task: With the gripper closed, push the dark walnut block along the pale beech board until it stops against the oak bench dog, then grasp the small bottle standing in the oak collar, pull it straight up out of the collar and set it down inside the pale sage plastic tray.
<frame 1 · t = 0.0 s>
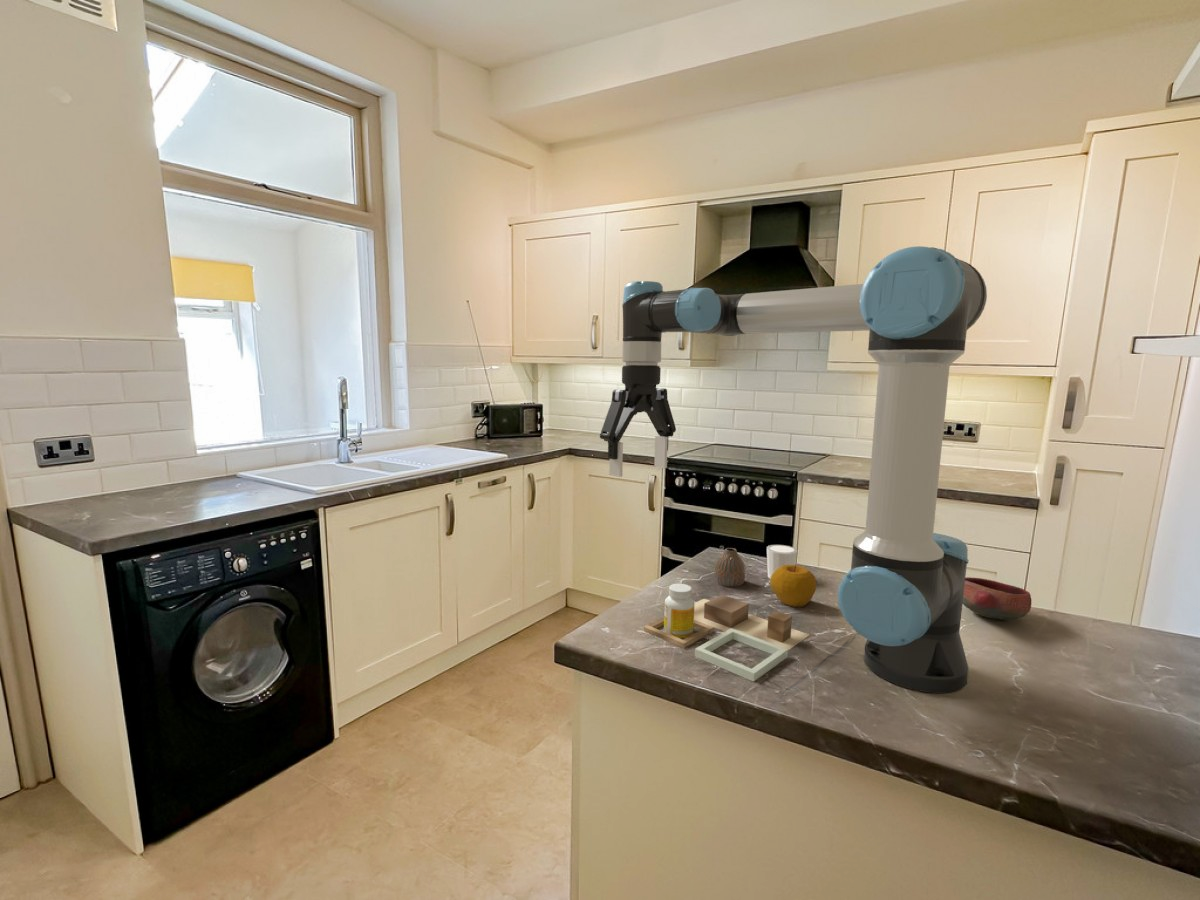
hand: (639, 471, 118), 28 cm above the counter, fingers open, 13 cm apart
tray: (740, 663, 98), on the counter
oak collar: (678, 637, 108), on the counter
apple: (791, 607, 122), on the counter
supplement bottle: (678, 638, 108), resting in oak collar
white cylinder: (779, 578, 139), on the counter
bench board: (739, 629, 111), on the counter
vase: (729, 587, 132), on the counter
bowl: (993, 621, 116), on the counter
walnut block: (725, 618, 113), point 1 cm above the counter, touching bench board
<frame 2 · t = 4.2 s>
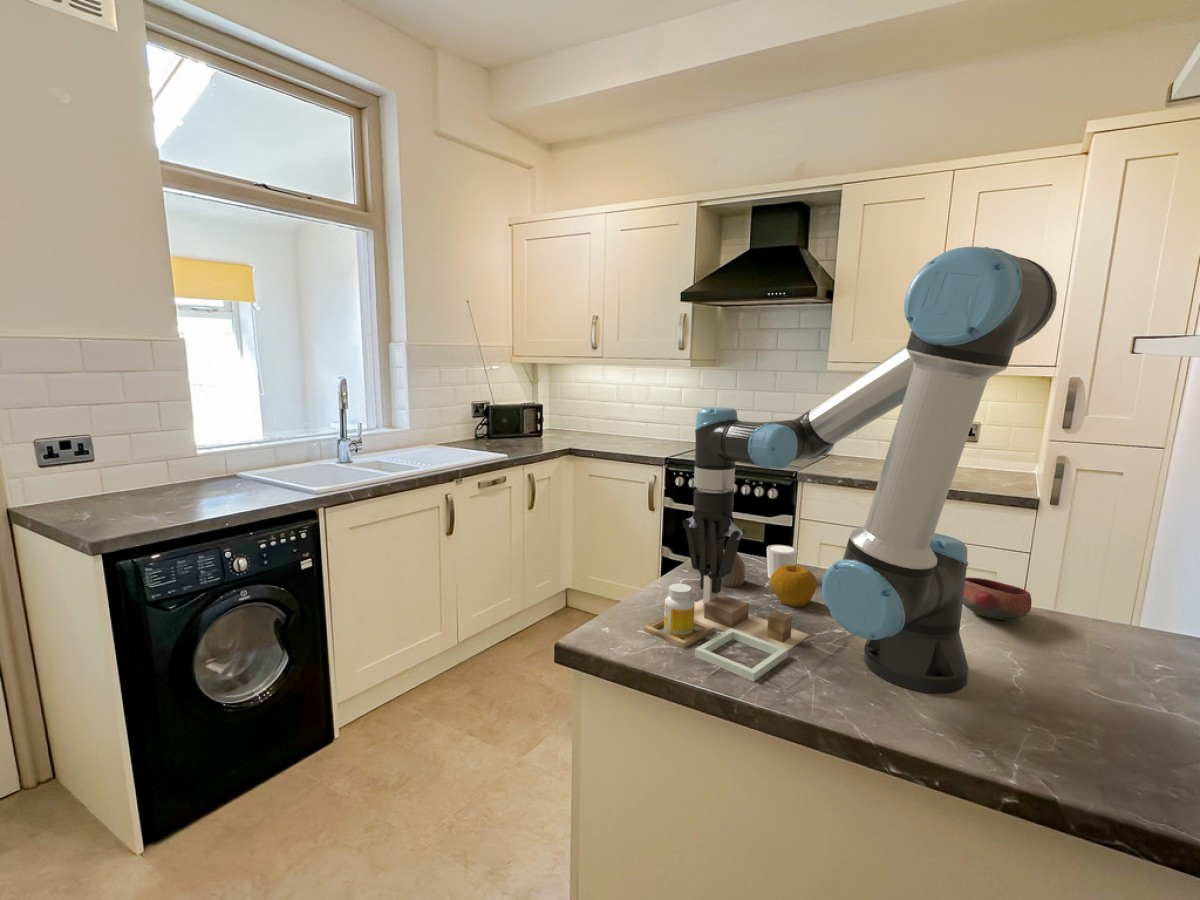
hand: (709, 606, 115), 2 cm above the counter, fingers closed
walnut block: (726, 618, 113), point 1 cm above the counter, touching gripper
everything else where it was.
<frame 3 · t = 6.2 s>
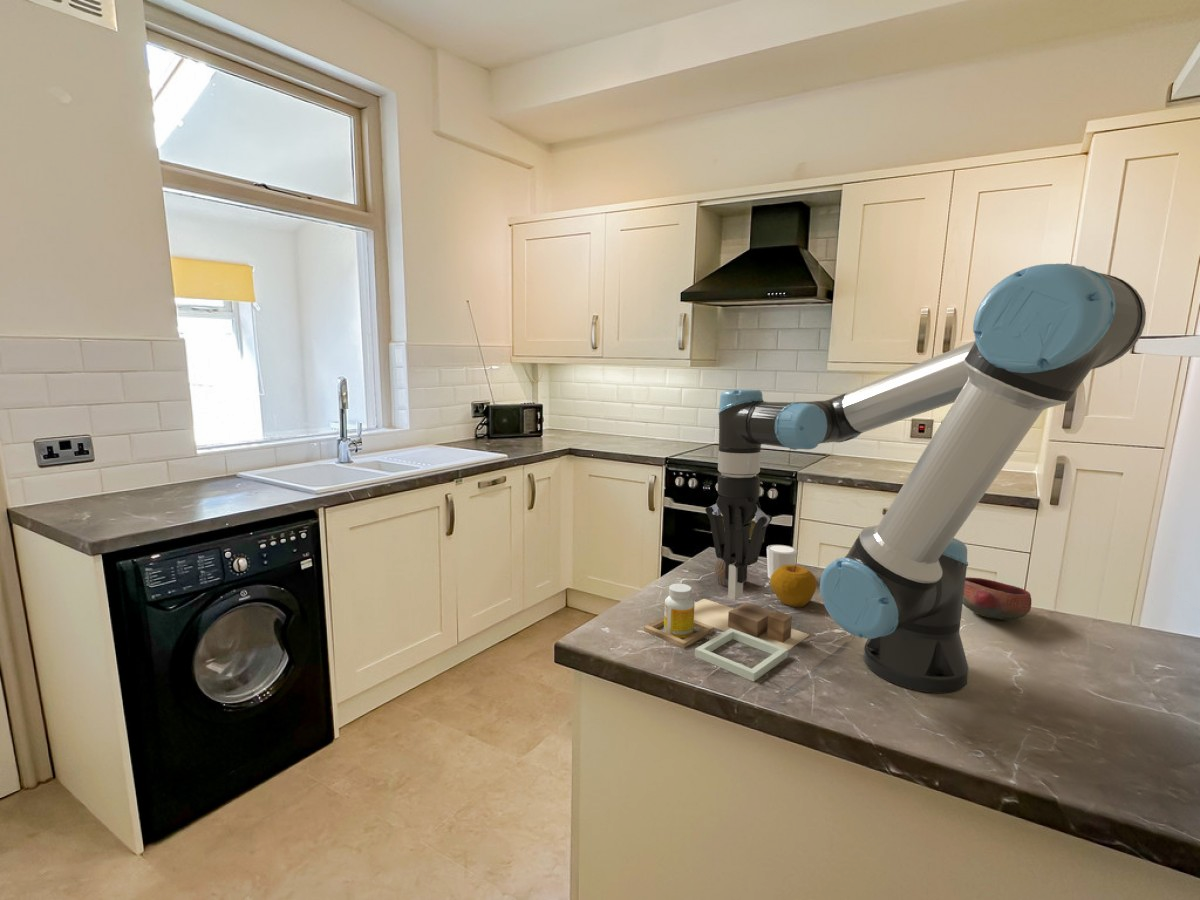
hand: (735, 597, 111), 6 cm above the counter, fingers closed
walnut block: (750, 627, 109), point 1 cm above the counter, touching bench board
everything else where it was.
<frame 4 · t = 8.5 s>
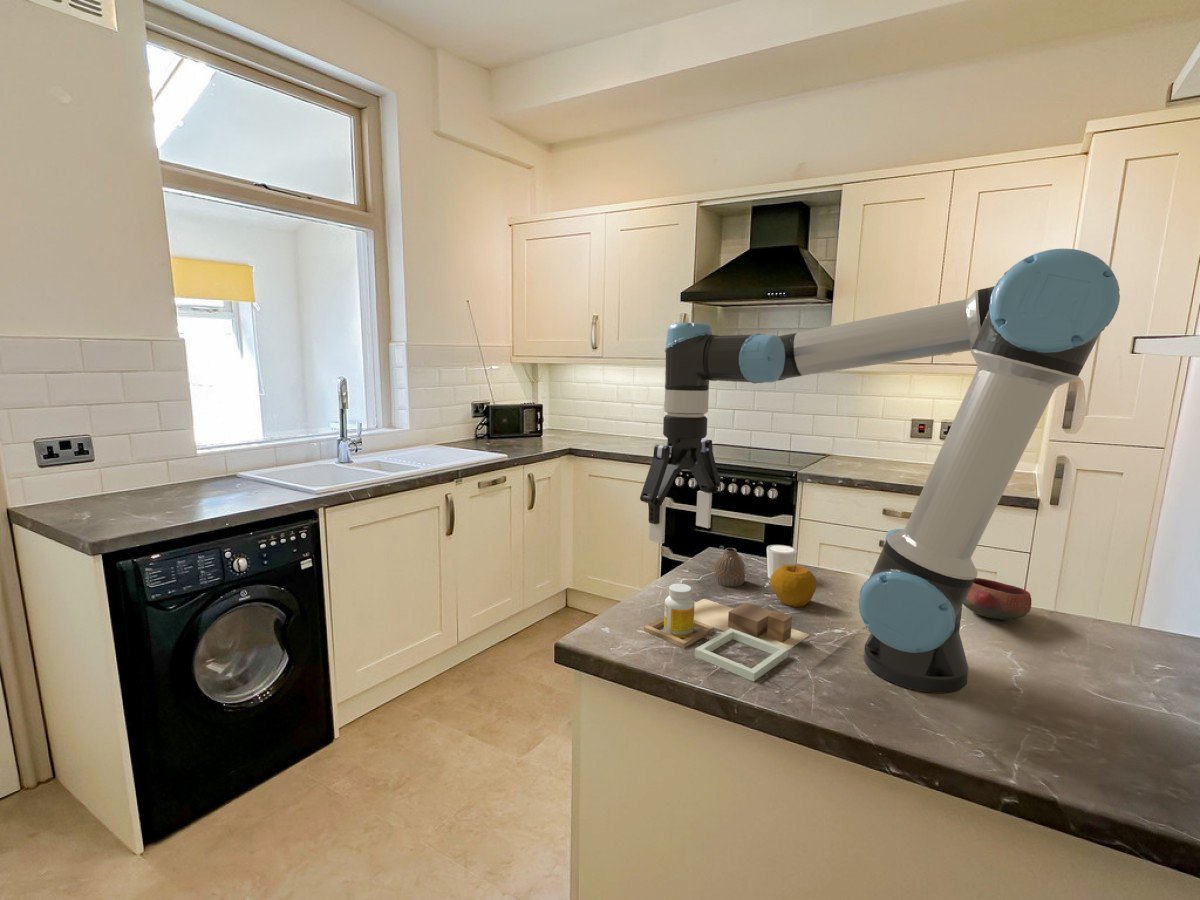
hand: (680, 533, 105), 20 cm above the counter, fingers open, 13 cm apart
nothing on the counter moved.
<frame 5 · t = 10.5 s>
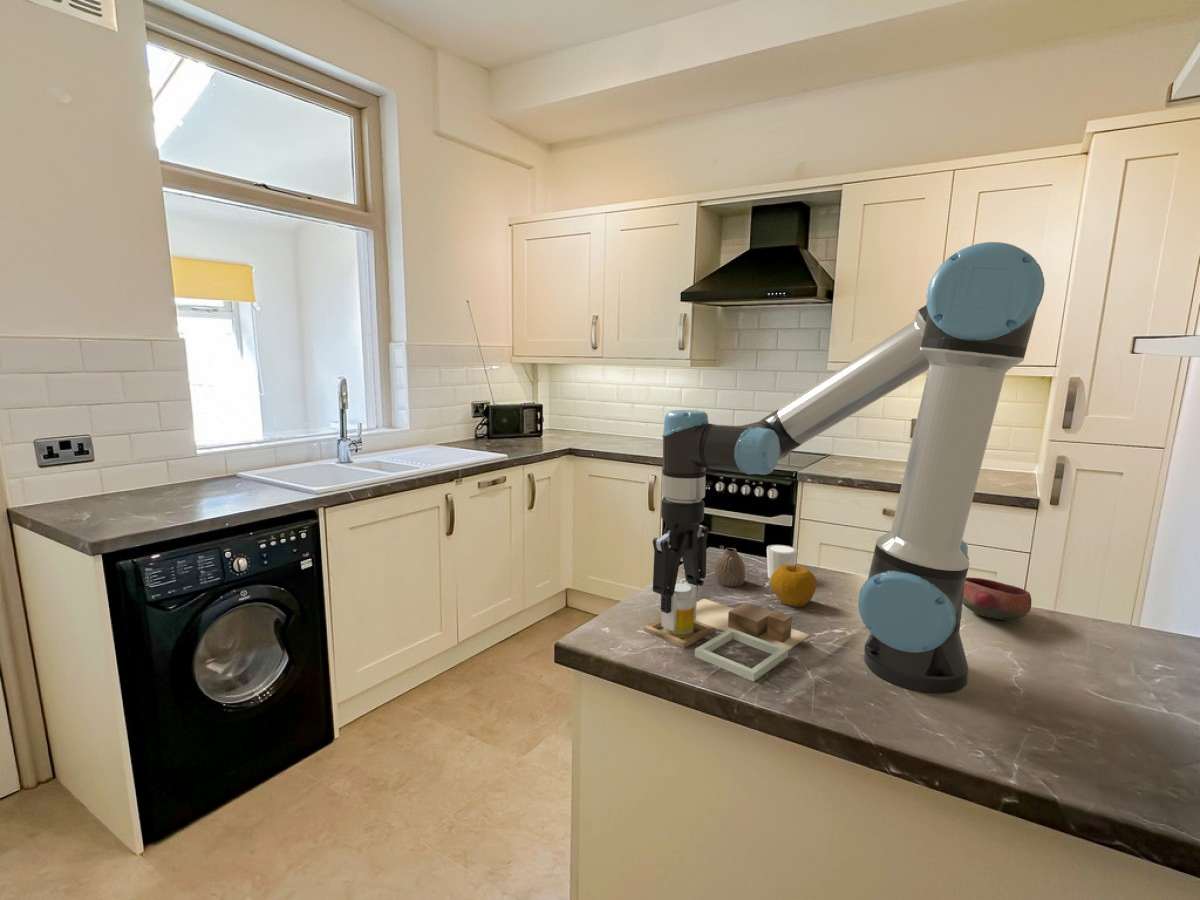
hand: (678, 622, 107), 3 cm above the counter, fingers closed on supplement bottle, 5 cm apart
supplement bottle: (678, 638, 108), resting in oak collar, touching gripper
everything else where it was.
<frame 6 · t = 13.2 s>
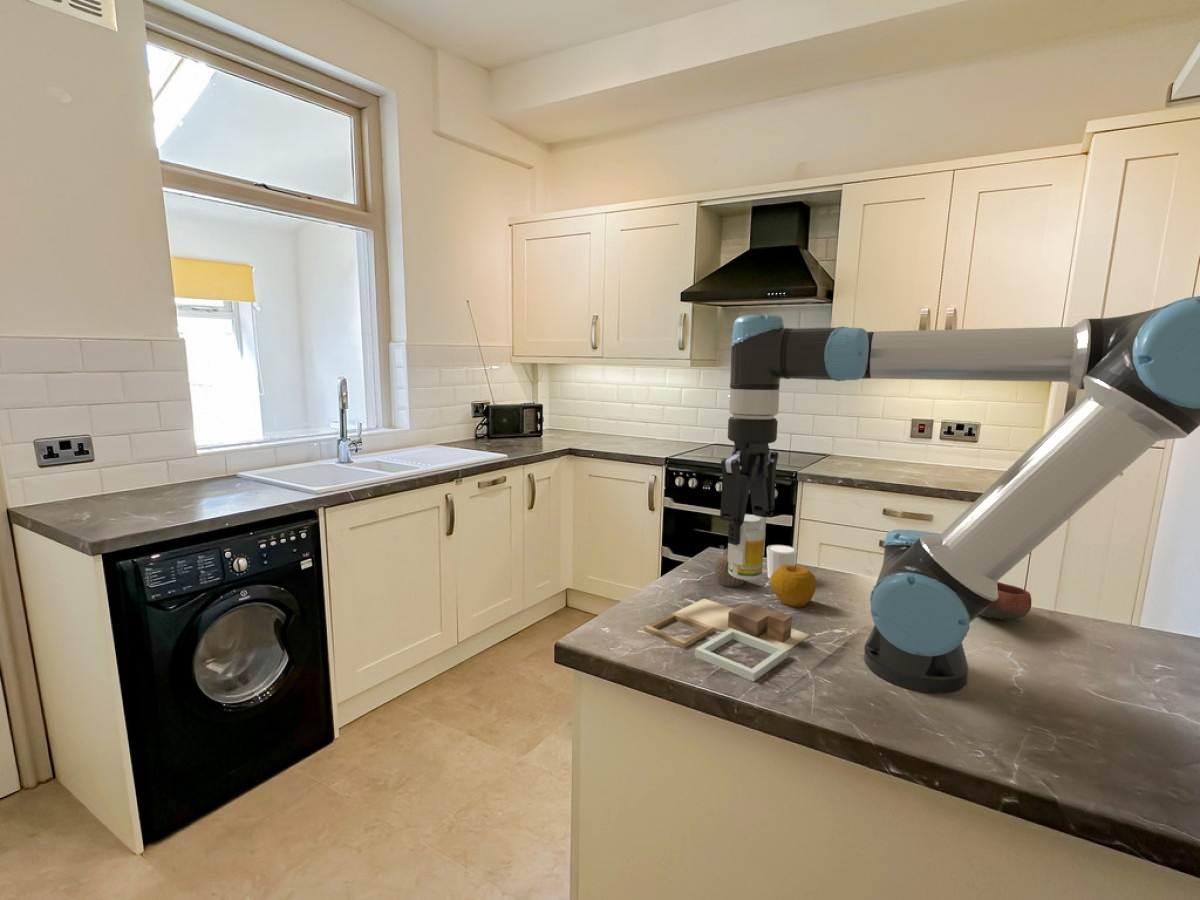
hand: (746, 558, 96), 18 cm above the counter, fingers closed on supplement bottle, 5 cm apart
supplement bottle: (744, 576, 96), point 15 cm above the counter, touching gripper
everything else where it was.
when the fingers open (5 cm above the counter, at t = 15.7 s): supplement bottle drops 2 cm, resting on tray.
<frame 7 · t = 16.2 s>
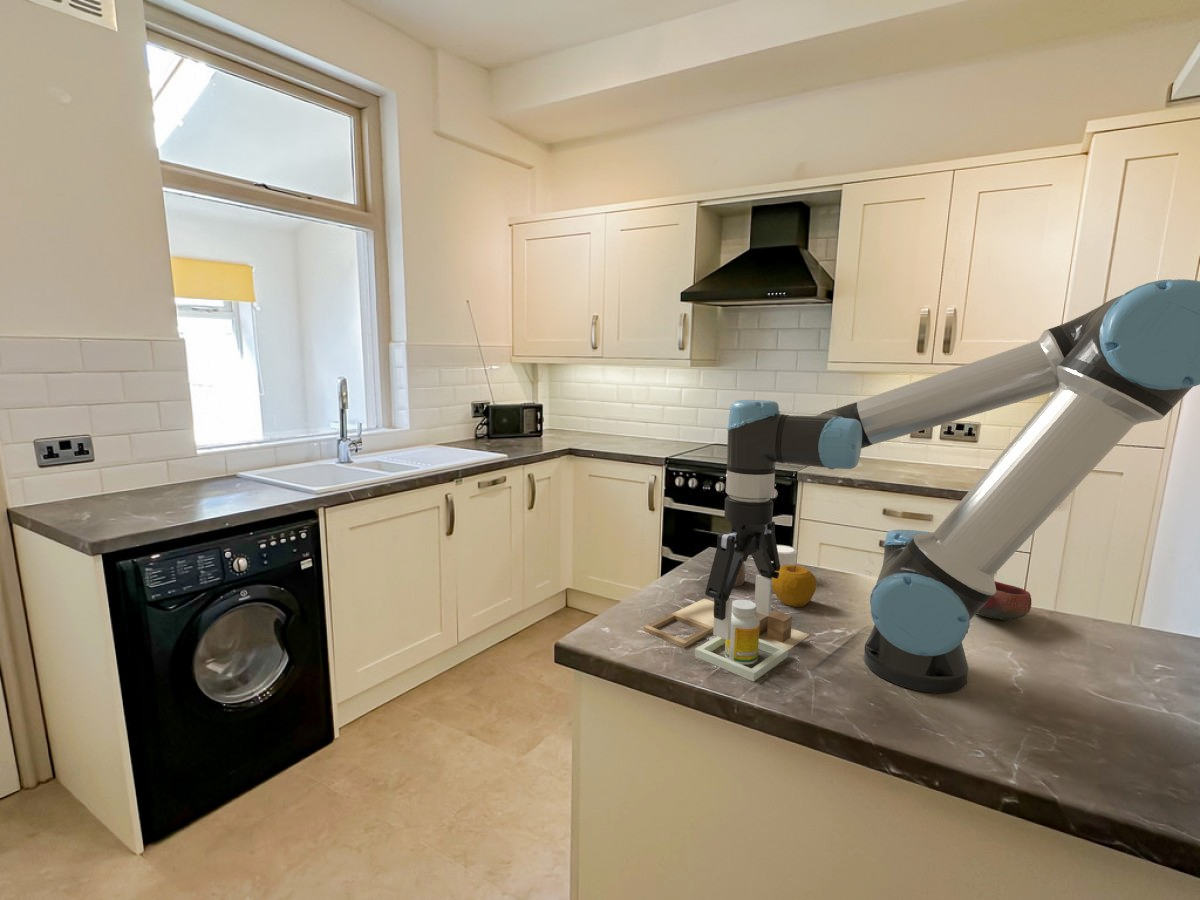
hand: (742, 624, 97), 7 cm above the counter, fingers open, 12 cm apart
supplement bottle: (741, 659, 98), point 1 cm above the counter, touching tray
everything else where it was.
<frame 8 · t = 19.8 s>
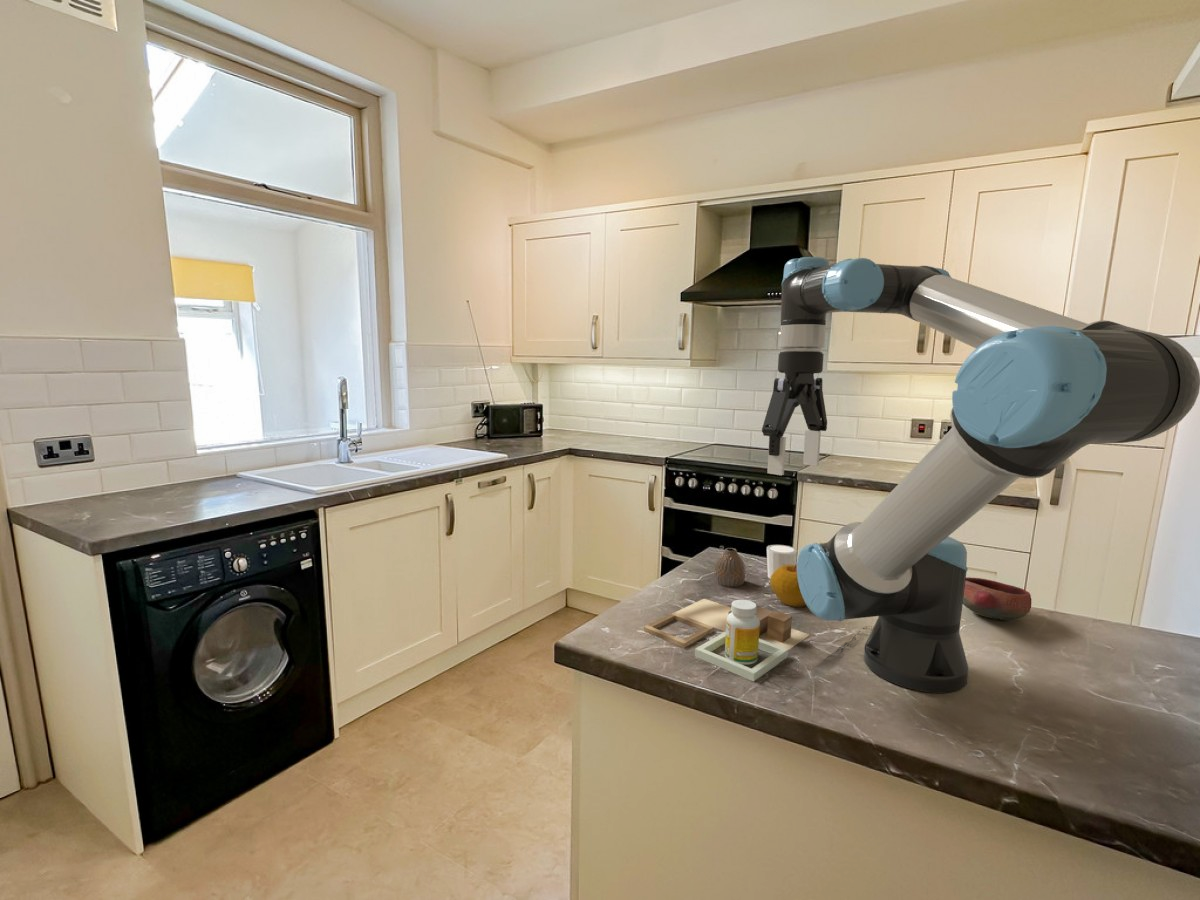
hand: (793, 469, 107), 31 cm above the counter, fingers open, 13 cm apart
nothing on the counter moved.
at the end: supplement bottle inside the target area on the tray (0.0 cm from its centre), point 0.6 cm above the tray's base; supplement bottle tilted 0°; walnut block 0.2 cm from the target spot, point 1.2 cm above the counter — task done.
